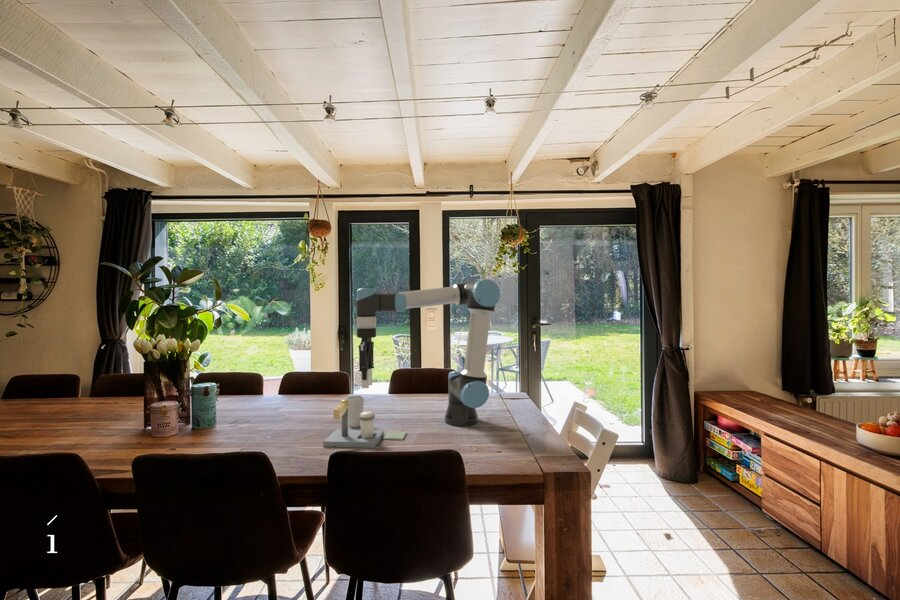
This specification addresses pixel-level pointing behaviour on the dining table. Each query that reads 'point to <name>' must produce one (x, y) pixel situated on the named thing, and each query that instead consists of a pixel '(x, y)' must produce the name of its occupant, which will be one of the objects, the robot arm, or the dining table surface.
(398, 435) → the mat
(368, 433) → the cream banded cylinder
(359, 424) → the cup
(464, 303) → the robot arm
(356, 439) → the socket board
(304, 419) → the dining table surface
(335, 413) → the clip
